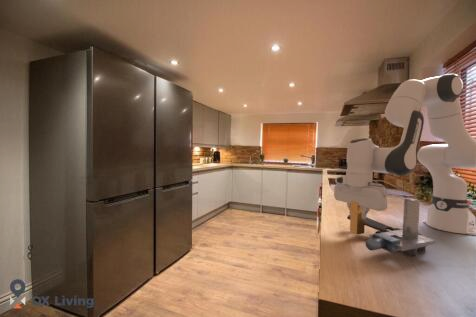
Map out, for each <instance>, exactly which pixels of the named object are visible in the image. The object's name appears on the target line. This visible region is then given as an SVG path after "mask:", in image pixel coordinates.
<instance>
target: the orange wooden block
mask: <svg viewBox="0 0 476 317" xmlns="http://www.w3.org/2000/svg"><path fill="white" fill-rule="evenodd" d="M363 211H364V210H363V209H362V206H358V202H353V201H351V213H350V214H349V215H350V220H349V233H352V234H355V235H356V236H357V235H362V234H365V226H366V225H365V219H362V218H360V213H362V212H363Z"/></svg>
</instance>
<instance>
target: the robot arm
mask: <svg viewBox="0 0 476 317" xmlns="http://www.w3.org/2000/svg"><path fill="white" fill-rule="evenodd" d="M463 91H464V81H463V78H462V77H461V76H459V74H456V73H447V74H445V73H444V74H443V75H440V76H434V77H428V78H425V79H422V80H419V79H408V80H405V81H404V82H402V83H401V84H399V86H398V87H397V89H395V91H394V92H393V93H392V95H391V97H390V99H389V100H388V103H387V105H386V107H385V109H384V116H385V119H386V120H387V121H388V122H389V123H390V124H392V125H393V126H396V127H400V128H403V131H402V135H401V136H400V141H399V143H398V144H397V145H396V146H391V147H379V146H378V145H376V144H375V143H374V142H373V140H372V138H370V137H365V138H364V137H363V138H357V139H356V138H355V139H352V140H350V141H349V142H348V146H347V150H346V164H347V168H346V170H345V172H346V173H345V175H342V176H337V177H335V179H334V181H335V185H334V190H333V197H334V200H336V201H339V202H343V203H346V207H347V208H348V210H349V212H348V213H349V215H350V213H351V201H353V202H358V206H362V209H363V210H364V211H363V212H362V213H360V218H362V219H366V217H367V215H368V213H369V212H370V210H374V211H378V212H383V211H386V210H387V208H388V198H387V188H386V186H385V185H383V184H382V183H376V182H373V177H374V176H373V175H374V174H373V172H374V173H381V174H389V175H393V176H394V175H395V176H400V177H402V176H407V175H409V174H410V173H412V172H413V171H414V170H415V168H416V166H417V164H418V163H420V164H421V165H423V167H425V168H426V169H427V171H428V172H429V173H430V175H431V178H432V186H433V187H432V189H433V192H432V195H431V199H430V200H431V201H430V202H431V205H429V206H428V207H427V212H426V219H423V223H424V224H426V225H427V226H428V227H430V228H433V229H436V230H439V231H440V230H441V231H444V232H449V233H454V234H455V233H456V234H464V235H471V236H476V216H475V215H474V214H473V212H472V211H471V210H470V209H469V207H470V206H469V205H471V203H472V201H471V200H470V199H467V197H468V196H467V195H468V184H467V182H466V180H465V179H464V178H462V177H461V176H459V175H458V176H457V175H456V174H455V173H454V171H453V169H468V170H469V169H476V139H475V138H474V137H473V136H472V135H471V134H470V133H469V132H468V131H467V128H466V125H465V122H464V117H463V116H464V115H463V110H462V106H461V102H460V100H459V97H460V95H461V94H462V93H463ZM422 107H426V116H427V120H428V126H429V132H430V134H431V135H432V137H435V138H438V139H440V140H442V141H444V142H445V143H439V144H438V143H437V144H436V143H435V144H428V145H425V146H424V145H423V146H421V147H420V148H419V146H420V142H421V139H422V133H423V129H424V123H425V118H424V115H423V113H422V112H421V109H422Z"/></svg>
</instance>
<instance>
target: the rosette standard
mask: <svg viewBox="0 0 476 317" xmlns="http://www.w3.org/2000/svg"><path fill="white" fill-rule="evenodd" d="M420 205H421V201H420V200H419V199H417V198H416V199H415V198H406V197H405V198H403V215H402V216H403V217H402V229H403V230H395V231H391V230H388V231H389V232H383V233H377V234H375V233H371V234H369V238H368V239H366V240H365V243H364V244H365V247H366V248H367V249H368V250H369V251H376V250H381V249H383V250H384V251H386V252H389V253H394V252H400V251H401V254H403V255H404V256H408V257H413V258H414V257H415V258H416V257H418V253H417V248H419V247H424V246H426V247H427V246H432V245H433V246H434V245H436V243H437V242H436V241H437V240H436V239H434V238H430V237H427V236H424V235H422V234H421V235H422V236H421V235H418V234H419V224H420Z"/></svg>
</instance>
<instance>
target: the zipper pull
mask: <svg viewBox="0 0 476 317" xmlns="http://www.w3.org/2000/svg"><path fill="white" fill-rule="evenodd" d="M346 219H347V220H349V221H350V214H349V215H347V218H346ZM365 226H366V227H369V228H371V229H374V230H377V231H375V232H374V234H377V233H383V232H389V231H395V230H403V228H398V227H396V228H395V227H392V226H390V225H388V224H385V223H382V222H379V221H377V220H375V219H372V218H370V217H367V216H366V219H365ZM418 235H421V236H423V234H421V233H418ZM426 247H427V246H424V247H419V248H417V254H422V253H424V252H425V251H426V250H427V249H426Z"/></svg>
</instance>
